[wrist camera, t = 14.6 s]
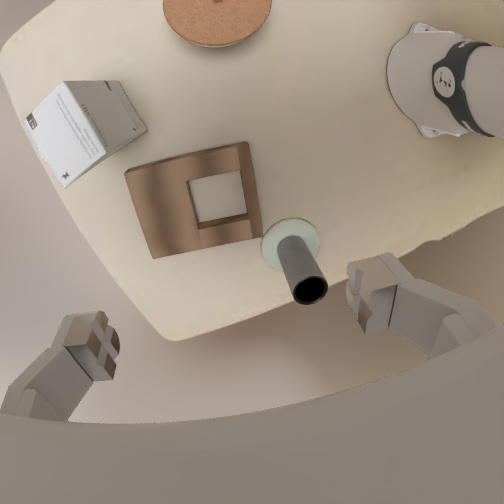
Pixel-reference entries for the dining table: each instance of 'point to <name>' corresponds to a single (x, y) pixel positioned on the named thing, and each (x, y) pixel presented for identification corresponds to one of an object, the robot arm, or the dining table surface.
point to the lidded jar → (216, 20)
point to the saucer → (284, 230)
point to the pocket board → (191, 201)
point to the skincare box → (82, 126)
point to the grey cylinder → (301, 271)
